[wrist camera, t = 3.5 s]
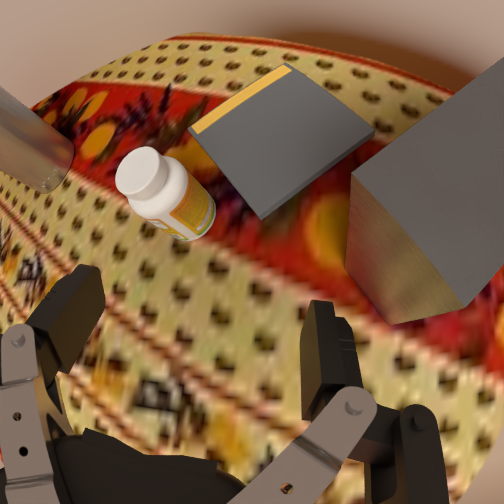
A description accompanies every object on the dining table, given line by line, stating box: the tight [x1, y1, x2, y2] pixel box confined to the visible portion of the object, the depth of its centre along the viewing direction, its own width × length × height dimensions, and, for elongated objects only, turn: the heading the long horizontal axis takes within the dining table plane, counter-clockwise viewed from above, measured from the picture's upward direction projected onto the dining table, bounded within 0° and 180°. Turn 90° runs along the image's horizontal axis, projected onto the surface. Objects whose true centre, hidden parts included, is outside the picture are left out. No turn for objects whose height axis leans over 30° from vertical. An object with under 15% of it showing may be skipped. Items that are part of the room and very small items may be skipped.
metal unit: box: [345, 57, 504, 325], centre depth 16 cm, size 7×18×16 cm, turn 125°
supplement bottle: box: [115, 147, 216, 241], centre depth 26 cm, size 5×5×10 cm
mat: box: [187, 63, 375, 220], centre depth 30 cm, size 14×14×1 cm
